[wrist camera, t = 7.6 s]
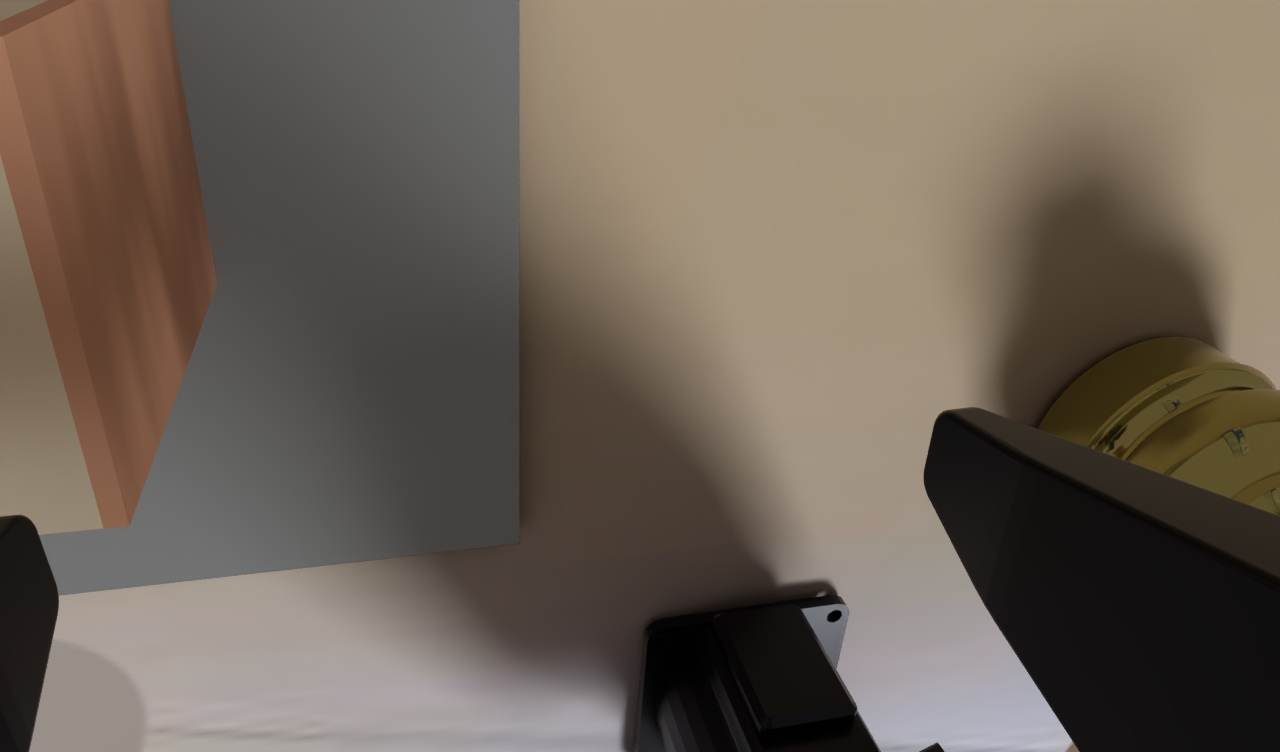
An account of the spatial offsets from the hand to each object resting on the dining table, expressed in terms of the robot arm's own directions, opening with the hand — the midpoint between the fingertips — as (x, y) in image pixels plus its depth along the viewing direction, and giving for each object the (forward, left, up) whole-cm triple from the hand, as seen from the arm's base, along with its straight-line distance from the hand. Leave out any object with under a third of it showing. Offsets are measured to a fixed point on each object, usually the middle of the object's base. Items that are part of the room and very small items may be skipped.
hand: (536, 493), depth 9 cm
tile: (+1, +6, -11) cm, 13 cm away
